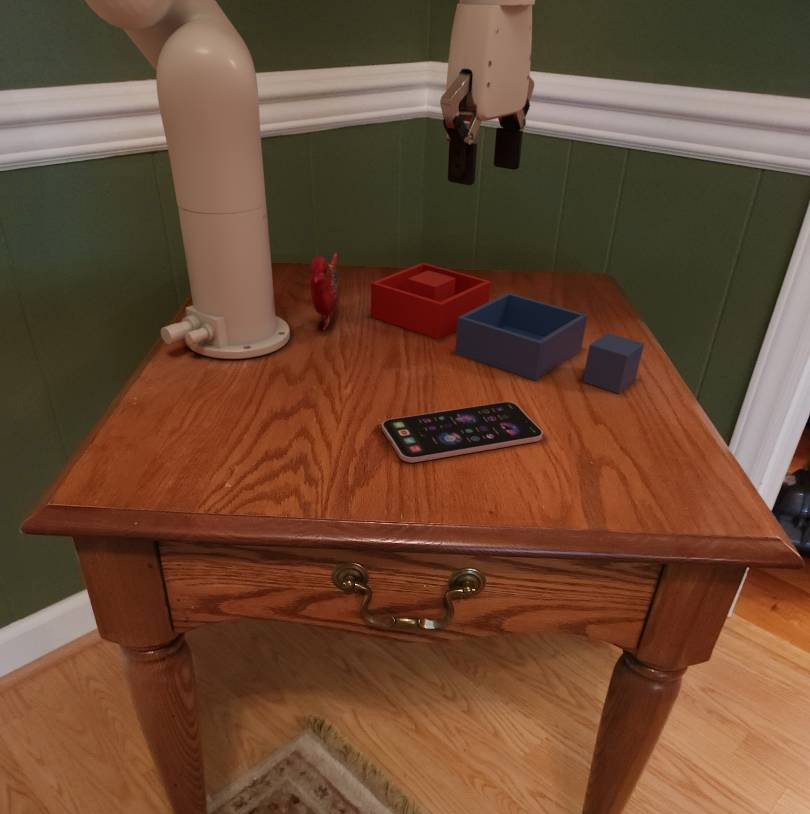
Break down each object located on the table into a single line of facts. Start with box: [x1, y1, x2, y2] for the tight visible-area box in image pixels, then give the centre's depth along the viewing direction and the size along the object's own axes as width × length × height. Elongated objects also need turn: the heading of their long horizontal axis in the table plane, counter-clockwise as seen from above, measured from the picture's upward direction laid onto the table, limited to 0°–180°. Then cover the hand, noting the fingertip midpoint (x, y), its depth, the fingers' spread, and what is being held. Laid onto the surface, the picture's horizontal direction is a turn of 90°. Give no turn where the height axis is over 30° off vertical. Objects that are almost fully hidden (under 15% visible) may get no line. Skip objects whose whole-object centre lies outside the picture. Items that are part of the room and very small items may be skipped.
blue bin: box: [454, 292, 589, 382], centre depth 87 cm, size 11×11×4 cm
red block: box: [407, 270, 456, 302], centre depth 95 cm, size 4×4×4 cm
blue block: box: [582, 332, 645, 394], centre depth 82 cm, size 4×4×4 cm
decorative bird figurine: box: [309, 250, 339, 332], centre depth 92 cm, size 3×18×10 cm, turn 177°
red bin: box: [370, 262, 492, 340], centre depth 96 cm, size 11×11×4 cm
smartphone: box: [381, 401, 544, 463], centre depth 72 cm, size 8×1×15 cm
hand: (484, 175), depth 83 cm, fingers open, 9 cm apart
